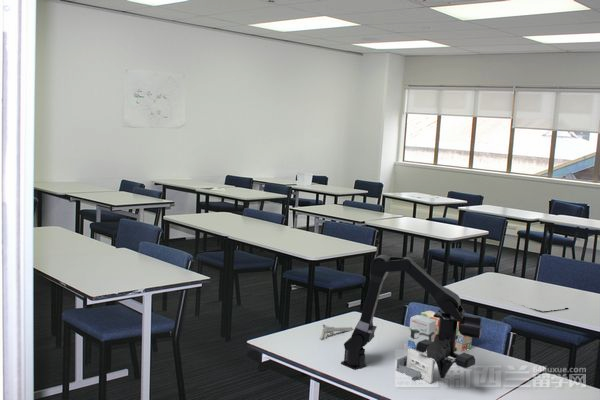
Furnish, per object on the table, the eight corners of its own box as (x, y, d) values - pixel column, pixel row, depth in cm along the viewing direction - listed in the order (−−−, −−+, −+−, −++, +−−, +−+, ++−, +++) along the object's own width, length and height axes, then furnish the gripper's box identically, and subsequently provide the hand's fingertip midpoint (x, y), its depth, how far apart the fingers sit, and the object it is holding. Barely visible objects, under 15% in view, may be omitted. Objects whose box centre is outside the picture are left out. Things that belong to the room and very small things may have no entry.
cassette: (404, 369, 202) (406, 348, 201) (408, 369, 203) (410, 347, 202) (429, 384, 192) (432, 361, 191) (433, 383, 193) (436, 360, 192)
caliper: (321, 341, 224) (322, 325, 223) (319, 340, 225) (320, 324, 224) (354, 330, 239) (355, 315, 238) (351, 329, 240) (353, 314, 239)
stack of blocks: (417, 334, 240) (421, 305, 238) (427, 331, 244) (430, 303, 242) (461, 352, 224) (465, 321, 222) (471, 349, 228) (475, 318, 226)
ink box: (406, 346, 225) (410, 316, 223) (413, 343, 229) (416, 314, 227) (426, 353, 219) (429, 322, 218) (433, 350, 223) (436, 320, 221)
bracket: (393, 371, 200) (394, 360, 199) (407, 365, 206) (408, 355, 205) (415, 381, 193) (416, 369, 193) (429, 374, 199) (431, 363, 199)
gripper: (408, 328, 190) (404, 374, 192) (460, 346, 177) (455, 395, 179) (427, 322, 198) (422, 366, 200) (478, 338, 185) (473, 386, 187)
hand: (442, 378), depth 191 cm, fingers closed
